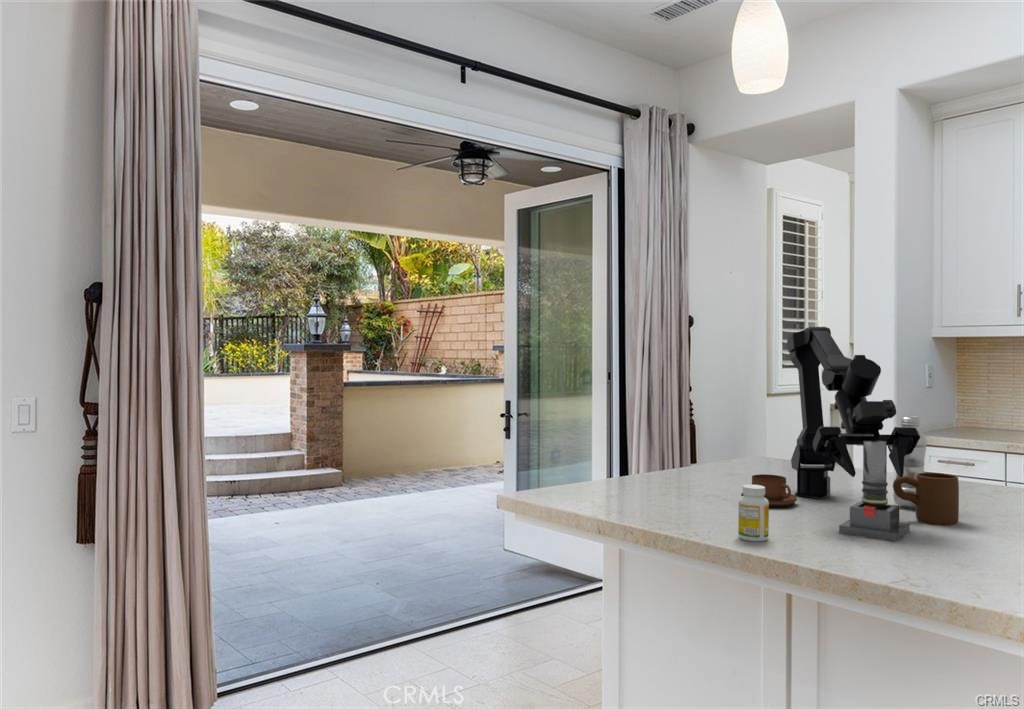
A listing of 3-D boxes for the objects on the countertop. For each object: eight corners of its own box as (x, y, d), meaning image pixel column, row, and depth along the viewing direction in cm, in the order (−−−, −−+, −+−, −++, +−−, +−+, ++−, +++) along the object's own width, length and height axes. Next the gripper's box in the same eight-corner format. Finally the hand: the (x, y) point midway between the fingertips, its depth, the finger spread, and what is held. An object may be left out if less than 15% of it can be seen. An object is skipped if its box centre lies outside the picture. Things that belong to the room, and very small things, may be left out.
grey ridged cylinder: (859, 503, 142) (859, 441, 142) (865, 499, 145) (865, 439, 145) (884, 506, 139) (884, 443, 139) (890, 502, 142) (890, 441, 142)
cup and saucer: (805, 504, 169) (805, 476, 169) (783, 512, 160) (784, 484, 160) (755, 496, 177) (755, 470, 177) (731, 504, 169) (731, 477, 169)
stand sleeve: (839, 533, 142) (839, 504, 141) (854, 523, 149) (854, 496, 149) (896, 541, 135) (897, 511, 135) (909, 531, 143) (909, 502, 143)
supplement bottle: (748, 542, 135) (748, 489, 135) (732, 535, 140) (732, 484, 140) (774, 540, 136) (775, 488, 136) (758, 533, 141) (758, 483, 141)
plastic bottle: (932, 511, 161) (932, 418, 160) (897, 510, 162) (898, 418, 162) (921, 505, 167) (922, 416, 167) (889, 504, 168) (889, 415, 168)
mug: (898, 524, 149) (898, 477, 149) (887, 515, 157) (888, 471, 157) (964, 527, 146) (964, 479, 146) (951, 518, 154) (951, 473, 154)
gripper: (817, 385, 147) (838, 449, 136) (916, 385, 145) (944, 450, 134) (804, 421, 154) (823, 484, 144) (897, 422, 153) (923, 485, 142)
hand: (877, 475), depth 141 cm, fingers open, 8 cm apart
